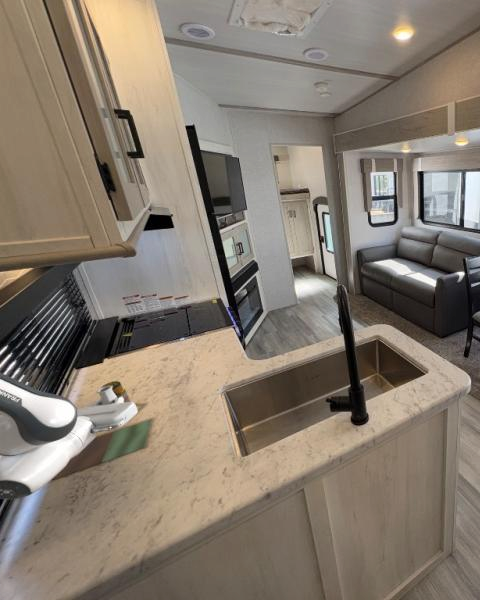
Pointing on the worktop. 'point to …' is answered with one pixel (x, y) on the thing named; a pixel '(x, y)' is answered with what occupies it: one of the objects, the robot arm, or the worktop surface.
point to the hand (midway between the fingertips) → (112, 399)
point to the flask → (107, 395)
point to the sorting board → (108, 448)
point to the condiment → (118, 390)
